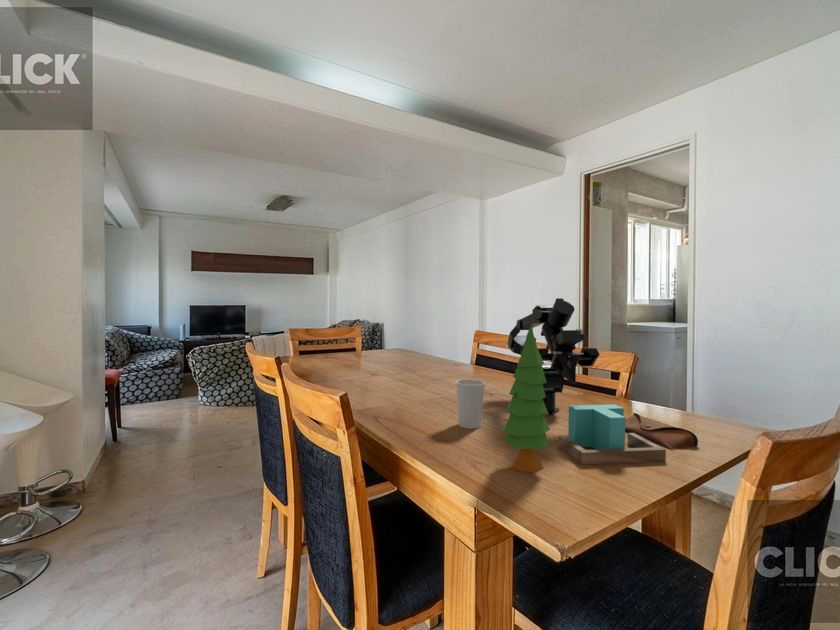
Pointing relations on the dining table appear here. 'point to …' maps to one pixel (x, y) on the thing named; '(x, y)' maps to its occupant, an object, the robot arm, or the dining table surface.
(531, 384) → the decorative tree
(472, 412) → the cup
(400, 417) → the dining table surface
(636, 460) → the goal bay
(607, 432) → the t block
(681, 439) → the sunglasses case
